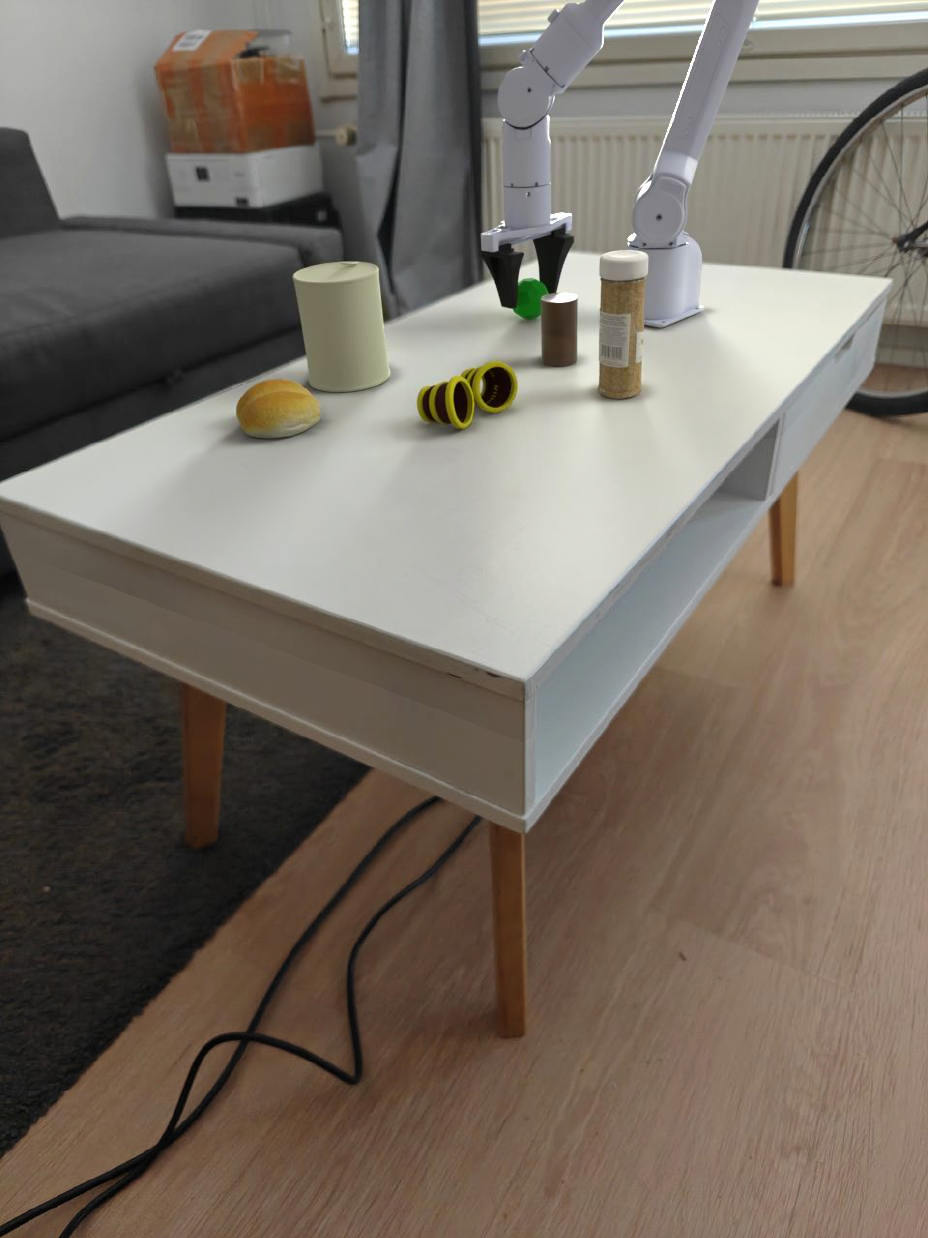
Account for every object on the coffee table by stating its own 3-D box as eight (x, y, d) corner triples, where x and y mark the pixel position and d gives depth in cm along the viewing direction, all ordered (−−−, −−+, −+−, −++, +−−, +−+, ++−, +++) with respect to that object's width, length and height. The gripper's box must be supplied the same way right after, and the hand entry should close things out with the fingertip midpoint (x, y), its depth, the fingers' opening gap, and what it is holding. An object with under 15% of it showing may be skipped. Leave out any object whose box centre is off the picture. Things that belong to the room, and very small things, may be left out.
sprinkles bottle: (651, 392, 91) (659, 253, 83) (617, 403, 89) (622, 261, 81) (620, 381, 94) (625, 246, 87) (587, 391, 92) (589, 254, 85)
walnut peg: (557, 353, 103) (557, 290, 99) (584, 359, 101) (585, 295, 97) (534, 362, 101) (533, 298, 97) (561, 369, 98) (561, 304, 95)
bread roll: (248, 447, 85) (239, 407, 83) (234, 417, 92) (226, 379, 90) (331, 431, 87) (325, 391, 85) (312, 402, 95) (306, 365, 92)
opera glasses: (485, 404, 93) (476, 356, 91) (522, 404, 89) (514, 354, 87) (419, 434, 88) (407, 383, 85) (456, 436, 84) (444, 383, 82)
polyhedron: (503, 317, 117) (502, 279, 114) (535, 310, 119) (534, 272, 116) (524, 325, 113) (523, 286, 110) (556, 318, 115) (556, 279, 112)
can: (405, 368, 102) (394, 257, 95) (364, 395, 95) (349, 279, 89) (336, 361, 106) (321, 254, 99) (293, 388, 99) (273, 275, 92)
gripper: (542, 173, 113) (543, 283, 121) (460, 191, 105) (467, 308, 113) (585, 176, 109) (583, 290, 117) (503, 195, 101) (507, 317, 109)
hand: (529, 300), depth 115 cm, fingers open, 7 cm apart
